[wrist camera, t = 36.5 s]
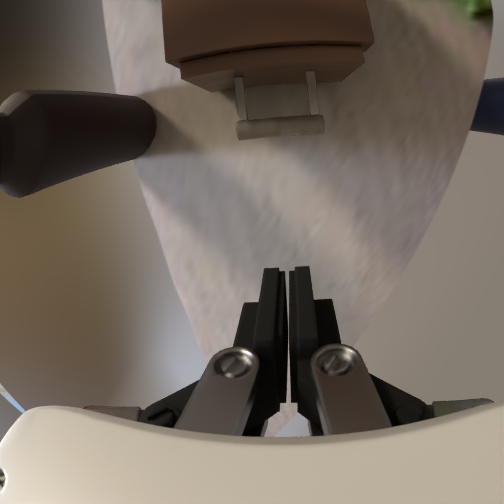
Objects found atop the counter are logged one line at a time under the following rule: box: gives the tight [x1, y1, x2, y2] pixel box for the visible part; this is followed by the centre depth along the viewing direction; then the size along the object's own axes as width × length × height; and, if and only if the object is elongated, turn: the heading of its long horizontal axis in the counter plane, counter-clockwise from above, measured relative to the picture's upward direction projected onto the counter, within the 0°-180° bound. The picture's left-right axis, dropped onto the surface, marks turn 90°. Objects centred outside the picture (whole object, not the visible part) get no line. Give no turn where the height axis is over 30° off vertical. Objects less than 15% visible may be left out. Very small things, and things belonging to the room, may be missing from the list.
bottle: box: [0, 90, 156, 198], centre depth 16 cm, size 7×7×20 cm
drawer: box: [180, 44, 364, 140], centre depth 16 cm, size 18×11×8 cm, turn 6°
